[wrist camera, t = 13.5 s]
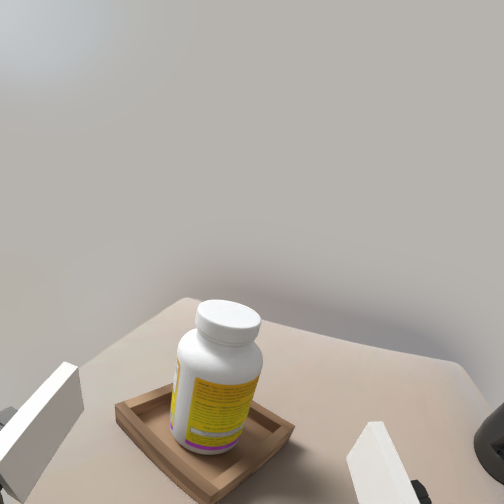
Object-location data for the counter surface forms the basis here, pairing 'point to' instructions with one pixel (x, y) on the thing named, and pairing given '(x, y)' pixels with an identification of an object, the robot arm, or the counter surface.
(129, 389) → the counter surface
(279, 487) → the counter surface
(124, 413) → the walnut tray
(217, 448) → the supplement bottle
